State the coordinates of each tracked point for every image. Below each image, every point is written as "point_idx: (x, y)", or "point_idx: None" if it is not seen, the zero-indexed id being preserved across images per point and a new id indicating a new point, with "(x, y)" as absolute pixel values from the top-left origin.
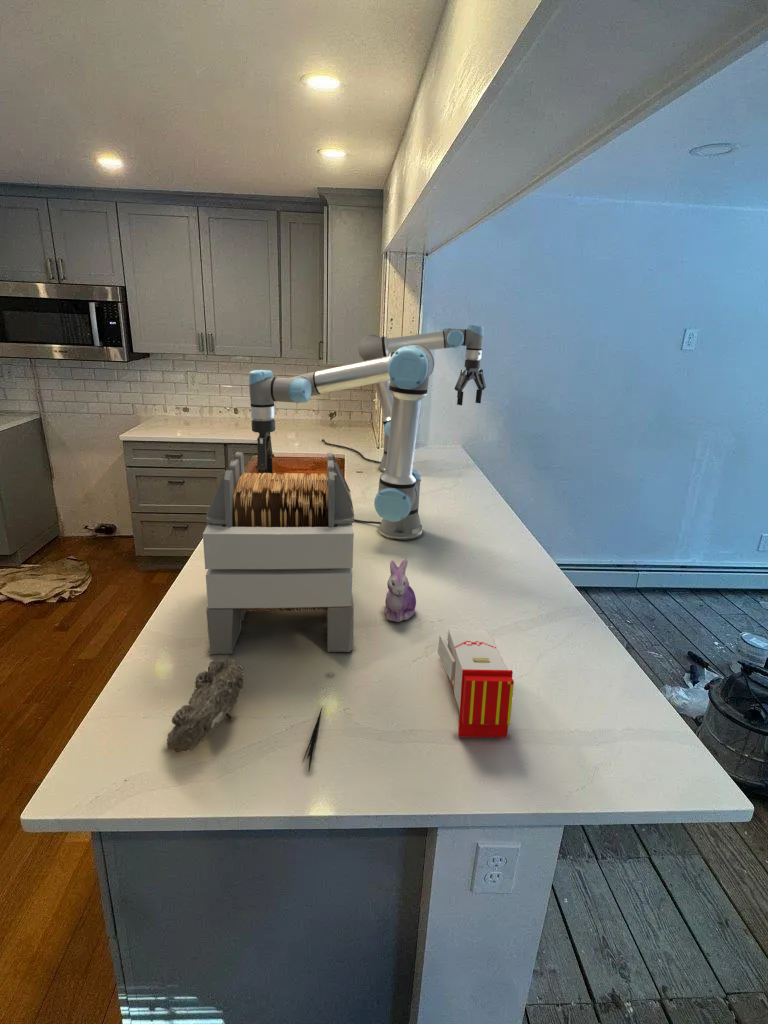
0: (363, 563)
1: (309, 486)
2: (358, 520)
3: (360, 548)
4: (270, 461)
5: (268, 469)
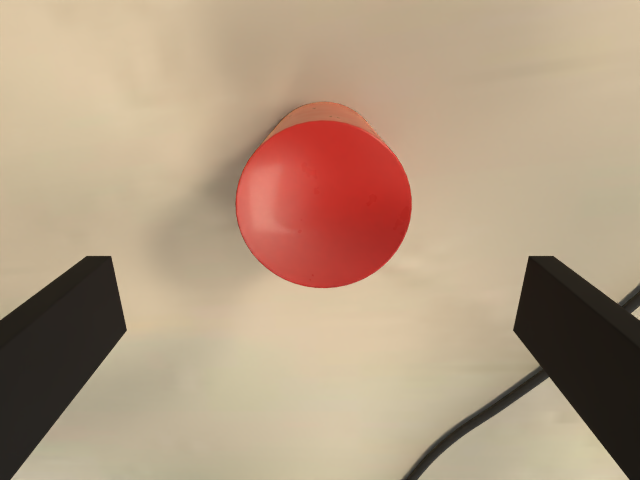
0: (75, 471)
1: None
2: (413, 477)
3: (184, 468)
4: (636, 464)
5: (565, 344)
